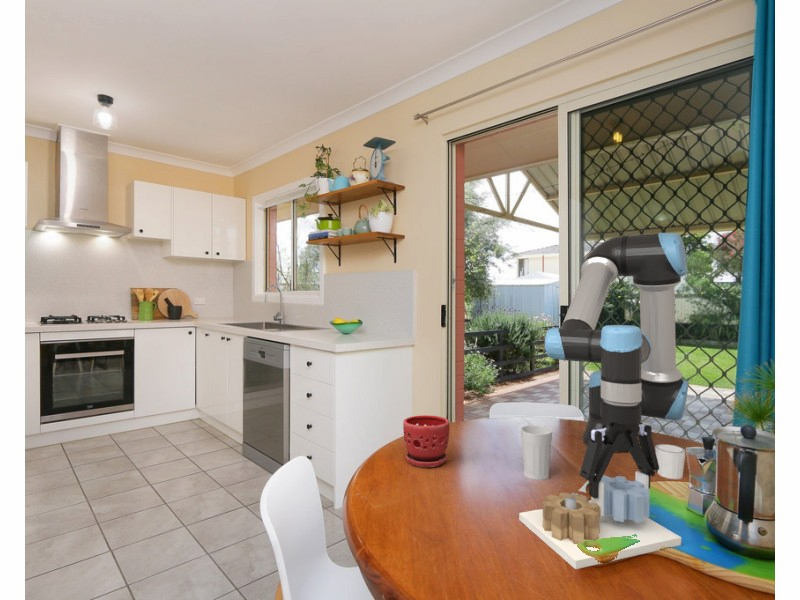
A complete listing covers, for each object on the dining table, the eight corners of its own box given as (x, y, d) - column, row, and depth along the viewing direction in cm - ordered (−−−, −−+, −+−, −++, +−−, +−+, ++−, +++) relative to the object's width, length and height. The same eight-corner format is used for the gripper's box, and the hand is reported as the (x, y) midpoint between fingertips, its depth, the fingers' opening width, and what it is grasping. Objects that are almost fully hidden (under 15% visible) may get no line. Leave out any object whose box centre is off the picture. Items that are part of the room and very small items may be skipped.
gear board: (611, 503, 105) (611, 470, 105) (681, 545, 88) (681, 506, 88) (519, 519, 98) (519, 485, 97) (575, 569, 81) (575, 527, 80)
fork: (607, 471, 123) (608, 465, 123) (579, 506, 104) (579, 498, 104) (595, 469, 125) (595, 462, 125) (565, 502, 106) (565, 494, 106)
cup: (554, 482, 116) (554, 435, 116) (521, 480, 118) (521, 433, 117) (550, 470, 124) (550, 425, 124) (519, 467, 126) (519, 424, 125)
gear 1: (560, 511, 98) (561, 488, 98) (609, 530, 90) (609, 505, 90) (532, 528, 92) (532, 503, 91) (582, 551, 83) (582, 523, 83)
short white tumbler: (651, 475, 120) (651, 448, 120) (658, 467, 125) (659, 441, 125) (682, 482, 115) (682, 454, 115) (688, 474, 120) (688, 447, 120)
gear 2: (621, 495, 101) (621, 472, 101) (661, 518, 91) (661, 492, 91) (581, 502, 98) (581, 478, 98) (618, 526, 88) (618, 500, 88)
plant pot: (457, 466, 127) (457, 423, 127) (413, 473, 123) (413, 429, 122) (437, 450, 139) (437, 411, 139) (397, 456, 135) (396, 416, 134)
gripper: (650, 393, 101) (649, 492, 101) (560, 401, 94) (560, 508, 94) (680, 401, 94) (679, 508, 94) (586, 410, 87) (585, 526, 87)
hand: (619, 508), depth 94 cm, fingers closed on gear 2, 10 cm apart
